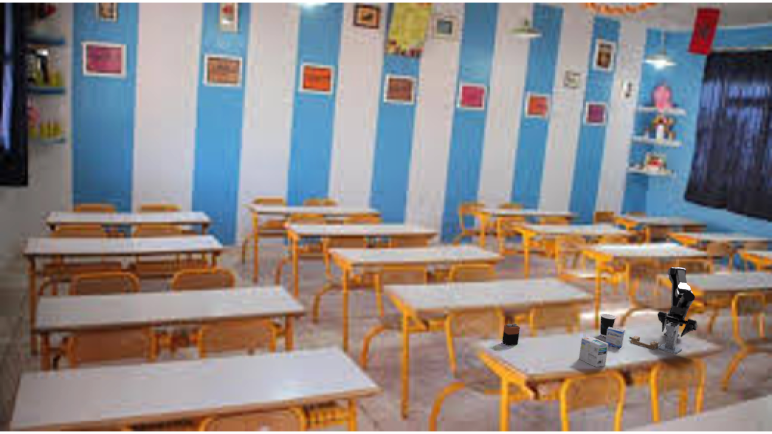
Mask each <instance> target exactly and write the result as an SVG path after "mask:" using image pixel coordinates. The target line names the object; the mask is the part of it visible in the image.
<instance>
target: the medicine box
mask: <svg viewBox="0 0 772 434" xmlns="http://www.w3.org/2000/svg"><path fill="white" fill-rule="evenodd" d="M625 331H626V330H624V329H619V328H616V327H613V328H612V327H608V329H607V335H606V337H605V341H604V342H605V343H608V347H614V348H619V349H621V348H622V346H623V342H624V338H625V337H624V335H625Z"/></svg>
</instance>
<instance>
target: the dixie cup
mask: <svg viewBox="0 0 772 434" xmlns="http://www.w3.org/2000/svg"><path fill="white" fill-rule="evenodd" d="M616 318H617V316H615V315H613V314H610V313H609V314H608V313H601V314H600V336H601V337H603V336H604V337H603V338H606V335H607V329H608V327H612V328H614V324H615V321H616Z"/></svg>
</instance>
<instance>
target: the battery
mask: <svg viewBox="0 0 772 434" xmlns="http://www.w3.org/2000/svg"><path fill="white" fill-rule="evenodd" d="M520 331H521V327H520V326H519V325H518V324H516V323H513V324H511V323H507V324H504V326H503V333H502V340H501V341H502V343H503V344H504V345H506V346H513V345H515V346H516V345H518V344H519V337H520Z"/></svg>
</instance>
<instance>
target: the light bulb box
mask: <svg viewBox="0 0 772 434" xmlns="http://www.w3.org/2000/svg"><path fill="white" fill-rule="evenodd" d="M608 349H609V345H608V343H605V341H602V340H600V339H598V338H595V337H593V336H585V337H581V341H580V350H579V355H578V360H580V361H582V362H585V363H587V364H589V365H591V366H593V367H596V368H598V367H602V366H606V365H607V364H606V363H607V356H608Z"/></svg>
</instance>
